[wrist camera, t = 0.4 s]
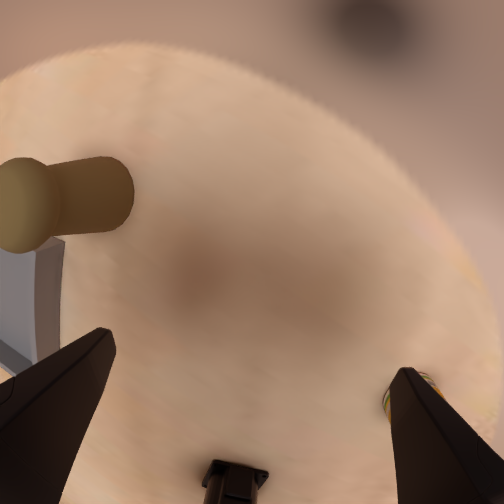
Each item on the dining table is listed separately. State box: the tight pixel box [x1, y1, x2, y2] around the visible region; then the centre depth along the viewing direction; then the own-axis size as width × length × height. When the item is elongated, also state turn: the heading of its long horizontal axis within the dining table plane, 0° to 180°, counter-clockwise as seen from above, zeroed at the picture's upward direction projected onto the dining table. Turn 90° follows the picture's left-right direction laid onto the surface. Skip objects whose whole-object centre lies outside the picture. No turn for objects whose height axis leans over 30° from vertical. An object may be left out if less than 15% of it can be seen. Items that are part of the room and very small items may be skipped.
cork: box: [0, 157, 134, 254], centre depth 16 cm, size 6×6×11 cm
